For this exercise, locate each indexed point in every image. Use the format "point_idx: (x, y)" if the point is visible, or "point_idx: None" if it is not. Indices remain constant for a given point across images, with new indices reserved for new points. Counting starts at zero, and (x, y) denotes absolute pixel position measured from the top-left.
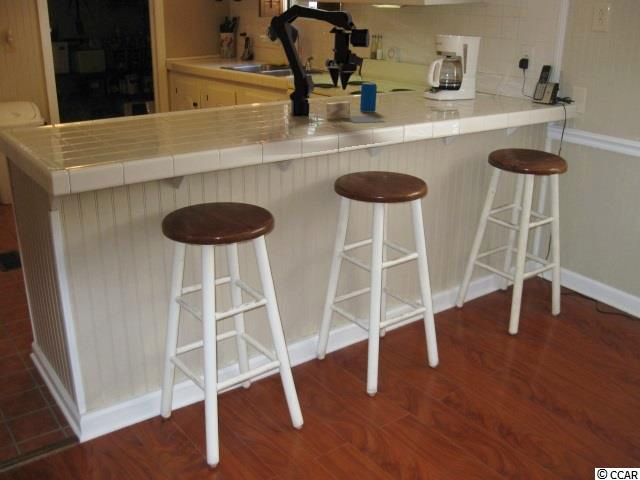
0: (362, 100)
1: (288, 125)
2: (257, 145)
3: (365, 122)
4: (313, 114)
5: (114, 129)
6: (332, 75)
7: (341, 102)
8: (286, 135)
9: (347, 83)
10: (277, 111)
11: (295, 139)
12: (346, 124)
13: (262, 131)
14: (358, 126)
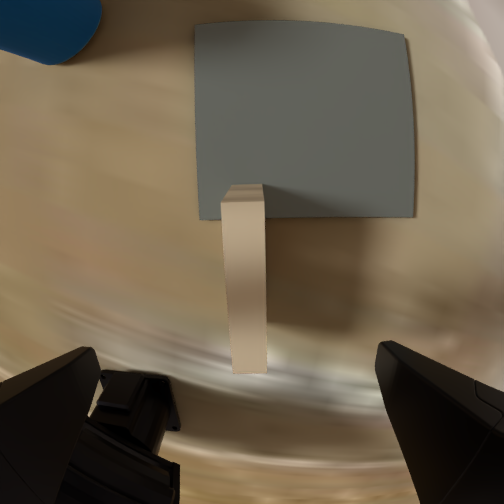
0: (38, 41)
1: (350, 462)
2: None
3: (413, 148)
4: (113, 339)
5: None
6: (52, 477)
7: (242, 272)
8: None
9: (450, 371)
10: None
11: None
12: (413, 263)
13: (395, 494)
14: (465, 222)
